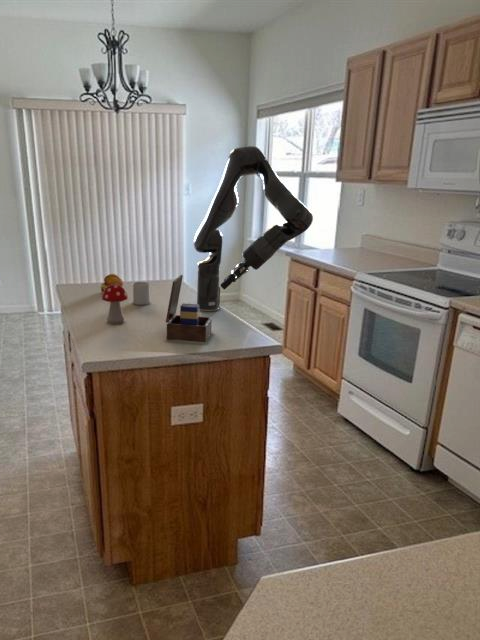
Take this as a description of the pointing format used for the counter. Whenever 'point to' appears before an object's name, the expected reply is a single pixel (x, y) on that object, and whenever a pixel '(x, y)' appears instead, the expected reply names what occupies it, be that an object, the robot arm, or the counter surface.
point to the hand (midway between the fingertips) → (223, 284)
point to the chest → (189, 330)
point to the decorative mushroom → (114, 302)
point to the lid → (174, 298)
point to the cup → (141, 293)
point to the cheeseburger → (111, 281)
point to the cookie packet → (189, 314)
